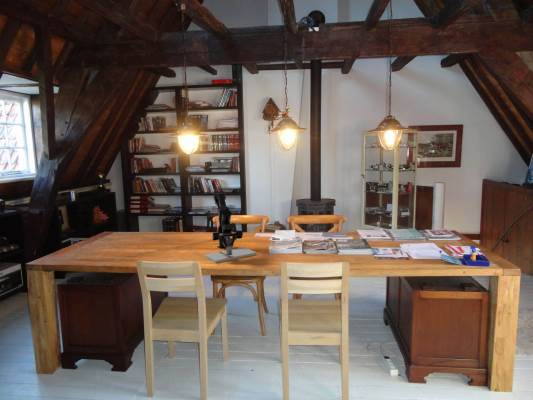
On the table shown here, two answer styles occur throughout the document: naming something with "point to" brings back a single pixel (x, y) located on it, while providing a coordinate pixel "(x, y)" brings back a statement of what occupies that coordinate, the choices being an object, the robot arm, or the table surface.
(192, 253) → the table surface
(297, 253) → the table surface
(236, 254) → the subfloor panel
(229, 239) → the awl peg
